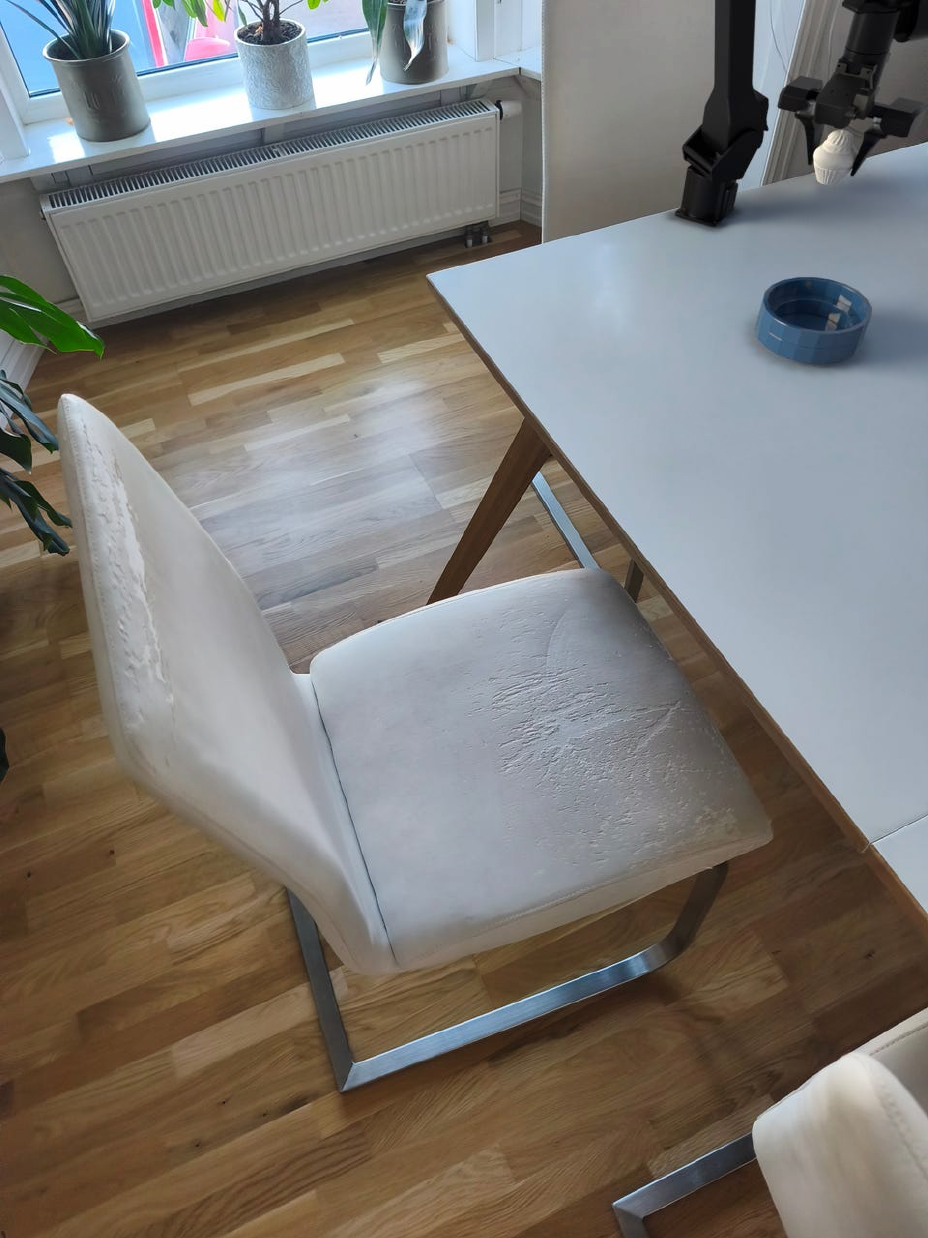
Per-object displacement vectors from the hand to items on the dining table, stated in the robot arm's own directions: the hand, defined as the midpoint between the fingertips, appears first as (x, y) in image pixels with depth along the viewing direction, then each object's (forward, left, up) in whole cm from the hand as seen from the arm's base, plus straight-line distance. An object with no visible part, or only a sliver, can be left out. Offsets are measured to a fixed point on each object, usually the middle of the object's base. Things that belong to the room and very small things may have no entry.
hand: (831, 169), depth 124 cm
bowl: (+14, -38, -3) cm, 41 cm away
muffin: (0, 0, -2) cm, 2 cm away
